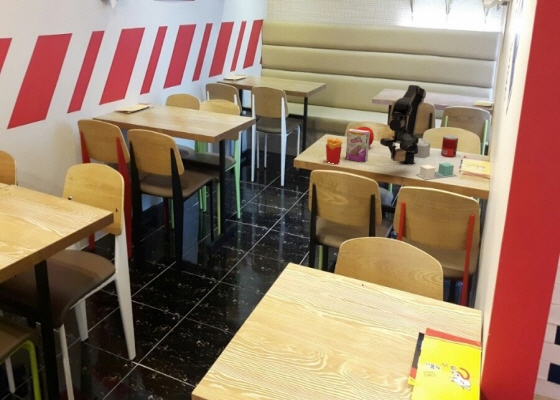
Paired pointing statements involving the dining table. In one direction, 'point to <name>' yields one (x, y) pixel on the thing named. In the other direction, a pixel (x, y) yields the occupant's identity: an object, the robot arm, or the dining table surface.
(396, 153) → the walnut block
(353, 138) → the candy bar box
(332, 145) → the french fries
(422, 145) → the lumpy-topped squat cylinder
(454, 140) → the canned food
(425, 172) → the block
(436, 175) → the slate board
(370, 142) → the tomato
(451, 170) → the teal block
